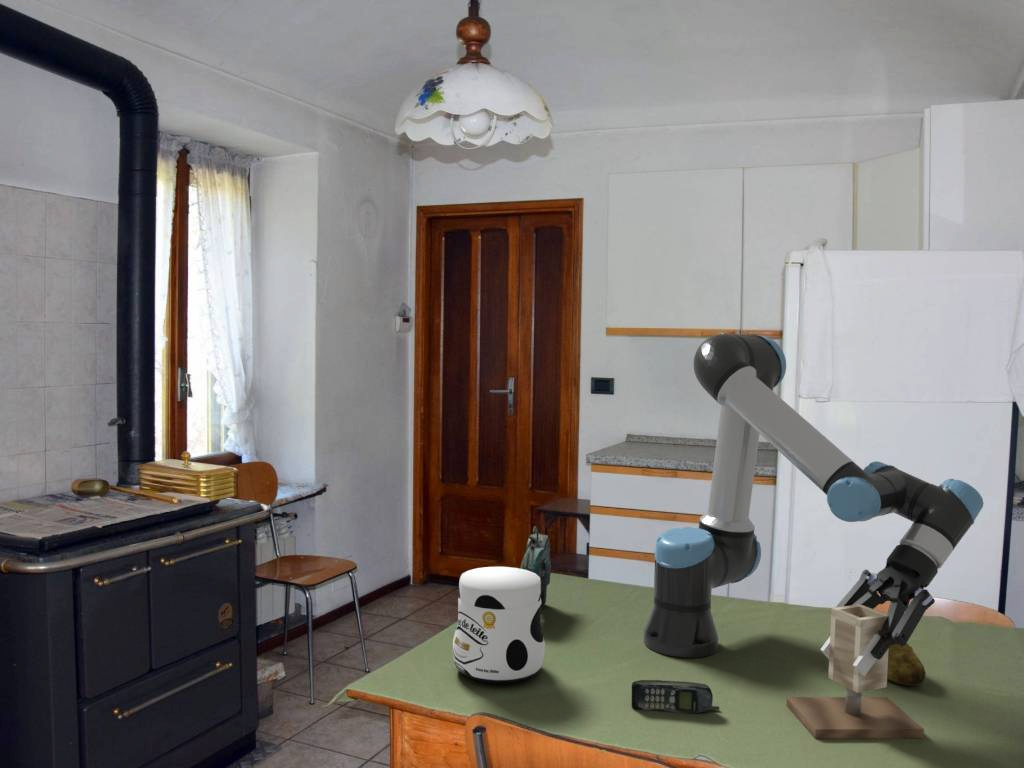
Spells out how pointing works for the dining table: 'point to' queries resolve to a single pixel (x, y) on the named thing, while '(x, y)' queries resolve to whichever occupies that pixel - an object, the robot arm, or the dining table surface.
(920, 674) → the potato
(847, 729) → the flat brown rectangular board
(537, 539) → the green statue
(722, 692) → the dining table surface
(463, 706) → the dining table surface
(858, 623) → the wooden pencil cup
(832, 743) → the dining table surface
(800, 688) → the dining table surface
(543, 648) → the doce de leite jar
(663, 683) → the mobile phone
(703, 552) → the robot arm
